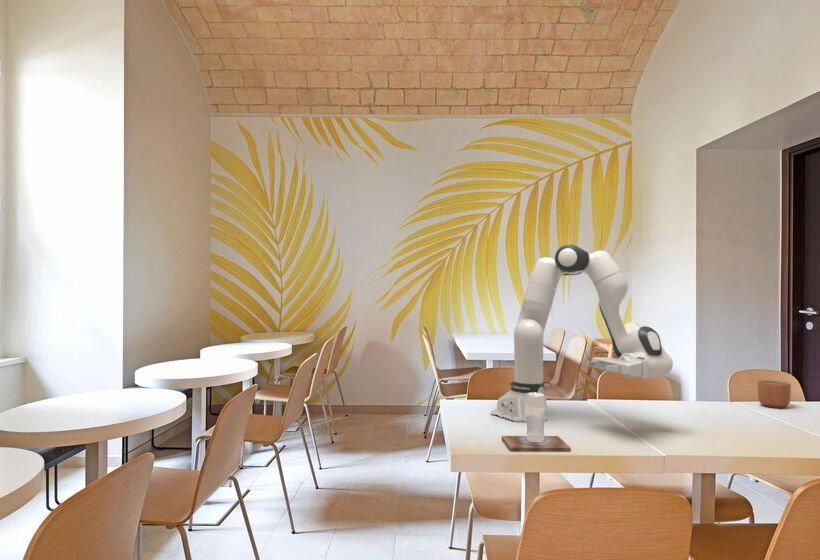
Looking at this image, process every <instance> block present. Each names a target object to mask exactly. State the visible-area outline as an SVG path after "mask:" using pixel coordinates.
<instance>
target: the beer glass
mask: <svg viewBox="0 0 820 560" xmlns="http://www.w3.org/2000/svg"><path fill="white" fill-rule="evenodd" d="M547 405H548V404H547V394H546V393H545V392H544V393H536V392H530V393H526V394H525V417H526V421H525V423H526V435H525V436H526V441H528V442H531V443H543V442H545V437H544V436H545V422H546V420H545V419H546V416H547V410H548V409H547Z"/></svg>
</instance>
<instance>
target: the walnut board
mask: <svg viewBox="0 0 820 560" xmlns="http://www.w3.org/2000/svg"><path fill="white" fill-rule="evenodd" d="M544 437H545V442H543V443H531V442H528V441H526V435H501V441H502V443H504V445H505V446H506V448H507V449H508V450H509V452H534V453H535V452H544V453H545V452H546V453H547V452H550V453H551V452H553V453H554V452H558V453H559V452H560V453H561V452H564V453H566V452H567V453H568V452H569V453H571V452H572V448H571V446H570V445H569V444H567V443H566V442H565V441H564V440H563V439H562V438H561V437H560V436H558V435H544Z"/></svg>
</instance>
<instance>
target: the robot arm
mask: <svg viewBox="0 0 820 560" xmlns="http://www.w3.org/2000/svg"><path fill="white" fill-rule="evenodd" d="M583 273H585V274H586V275H587V276H588V277H589V278H590V281H591V282H592V284H593V286H594V287H595V290H596V292H597V295H598V302H599V303H598V308H599V311H600V314H601V316H602V319H603V322H604V323H605V326H606V329H607V331H608V334H609V337H610V339H611V341H612V342H611V343H612V348H613V352H614V354H615V356H616V357H617V358H613V357H605V356H604V357H603V356H600V357H599V356H595V357H592V358H591V361H586V363H587V365H586V366H587V367H588V368H594V369H598V370H603V371H606V372H610V373H611V372H612V373H615V374H620V375H621V376H622V377H623V378H624V379H650V378H651V379H653V378H655V379H656V378H661V377H665V376H668V375H669V374H670V373H671V371H672V369H673V365H674V363H673V359H672V357H671V355H669V354H668V353H667V352H666V351H665V349H664V348H663V345H662V341H661V338H660V335H659V333H658V332H657V331H656V330H655V329H653V328H651V327H650V326H641V327H639V328H637V329H634V330H633V331H631V332H629V333H628V332H627V330H626V327H625V326H624V323H623V320H622V318H621V315H620V306H621V304H622V301H623V300H624V299H625V297H626V295H627V293H628V289H629V285H628V281H627V278H626V277H625V275H624V273H623V272H622V270H621V268H620V266H619V265H618V263H617V262H616V260H614V258H613V257H612V256H611V254H610V253H608V252H607V251H606V250H596V251H593V252H592V253H589V252H588V251H587V250H584V249H583V248H582V247H580V246H578V245H576V244H570V243H569V244H564V245H562V246H561V247H559V248H558V249H557V250H556V252H555V255H554V257H549V256H548V257H545V256H544V257H540V258H539V259H538V260H537V261H536V263H535V264H534V267H533V268H532V271H531V274H530V277H529V279H528V282H527V285H526V286H527V287H526V290H525V294H524V297H523V301H522V304H521V309H520V312H519V316H518V318H517V319H518V320H517V323H516V325H515V328H514V331H513V345H514V347H513V348H514V353H513V354H514V356H513V357H514V370H513V371H514V376H513V377H514V380H513V381H512V382H508V387H510V386H511V387H510V390H509V391H507V392H506V393H505V394H504V395H502V396H500V397H499V398H498V400H497V403H496V409H493V410H491V411H490V414H491V413H492V414H495V415H498V416H502V417H505V418H507V419H506V420H508V419H510V420H509V421H511V420H513V421H512V422H526V417H525V394H526V393H530V392H536V393H544V394H545V382H544V332H545V329H546V326H547V322H548V319H549V315H550V312H551V309H552V305H553V302H554V299H555V296H556V292H557V287H558V285H559V281H560V279H561V278H562V276H576V275H580V274H583ZM492 414H491V415H492ZM495 415H494V416H495ZM498 416H497V417H498ZM505 418H504V419H505ZM546 419H547V420H548V417H547V415H546ZM546 419H545V421H547V420H546Z"/></svg>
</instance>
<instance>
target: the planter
mask: <svg viewBox="0 0 820 560" xmlns="http://www.w3.org/2000/svg"><path fill="white" fill-rule="evenodd" d="M791 390H792V383H790V382H789V381H783V380H775V379H760V380H759V379H758V380H757V400H758V401H759V403H760V404H761V405H763V406H764V407H766V408H770V409H785V408H786V407H788V406H789V405H790V403H791Z"/></svg>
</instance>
